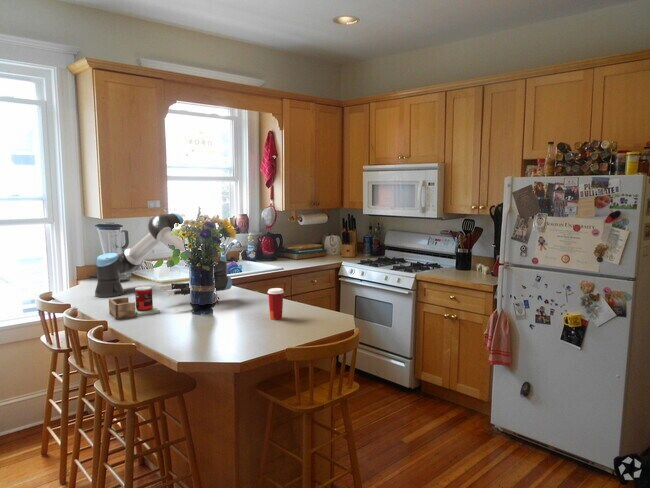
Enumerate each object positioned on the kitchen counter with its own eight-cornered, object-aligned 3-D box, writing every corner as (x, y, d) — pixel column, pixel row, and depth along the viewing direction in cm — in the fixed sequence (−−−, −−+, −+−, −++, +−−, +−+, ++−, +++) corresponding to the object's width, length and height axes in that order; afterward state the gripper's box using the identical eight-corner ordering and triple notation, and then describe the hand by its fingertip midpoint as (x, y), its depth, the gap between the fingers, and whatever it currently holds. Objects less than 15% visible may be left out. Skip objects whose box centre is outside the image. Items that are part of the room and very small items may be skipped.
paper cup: (286, 317, 238) (286, 288, 236) (280, 321, 231) (279, 291, 229) (271, 315, 241) (271, 287, 239) (264, 319, 233) (264, 290, 232)
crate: (151, 307, 257) (150, 293, 256) (159, 312, 246) (159, 299, 245) (109, 313, 246) (108, 299, 245) (116, 319, 234) (115, 305, 233)
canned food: (138, 307, 252) (137, 286, 250) (154, 307, 252) (153, 285, 251) (134, 311, 244) (133, 289, 243) (150, 311, 245) (149, 289, 243)
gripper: (212, 297, 255) (171, 303, 243) (194, 288, 275) (156, 293, 263) (212, 282, 254) (170, 288, 242) (194, 275, 275) (155, 279, 262)
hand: (163, 291), depth 253 cm, fingers open, 13 cm apart
